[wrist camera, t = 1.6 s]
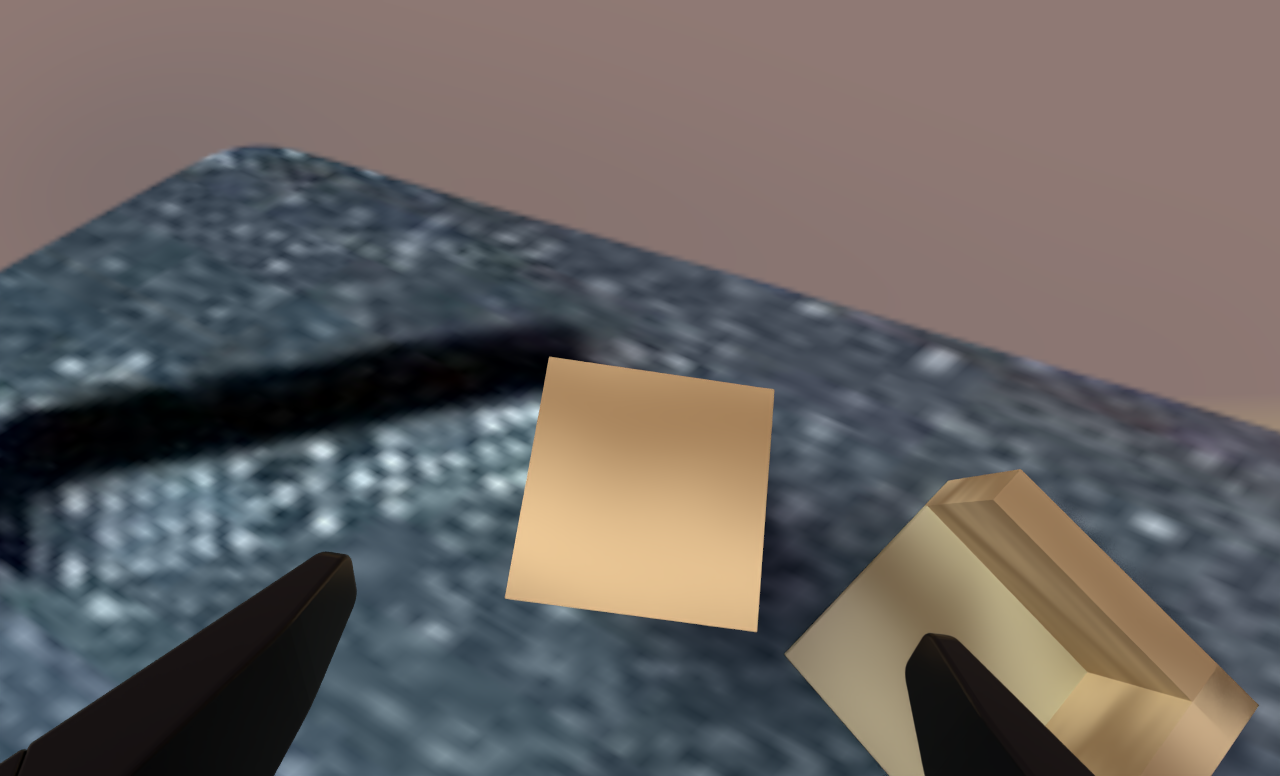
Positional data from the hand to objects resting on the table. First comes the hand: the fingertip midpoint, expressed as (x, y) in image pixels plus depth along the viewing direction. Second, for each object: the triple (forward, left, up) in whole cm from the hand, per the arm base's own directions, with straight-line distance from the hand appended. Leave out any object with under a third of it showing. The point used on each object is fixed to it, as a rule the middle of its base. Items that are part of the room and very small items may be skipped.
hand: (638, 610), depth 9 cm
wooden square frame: (+9, -9, -12) cm, 18 cm away
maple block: (+1, +2, -12) cm, 13 cm away
